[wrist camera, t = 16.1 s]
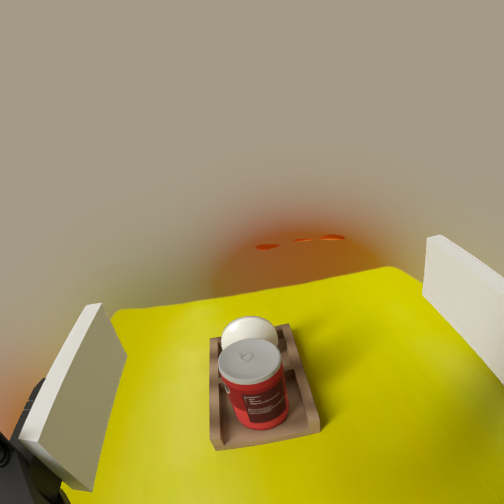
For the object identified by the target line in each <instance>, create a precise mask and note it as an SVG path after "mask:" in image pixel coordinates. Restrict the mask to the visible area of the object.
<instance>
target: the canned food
mask: <svg viewBox="0 0 504 504" xmlns="http://www.w3.org/2000/svg"><path fill="white" fill-rule="evenodd" d="M218 366H219V371H220V374H221V377H222V380H223V383H224V386H225V389H226V391H227V394H228V397H229V400H230V402H231V405H232V408H233V410H234V413H235V416H236V418H237V419H238V420H239V421H240V422H241V423H242V424H243V425H244V426H246V427H247V428H250V429H252V430H258V431H263V430H269V429H272V428H274V427H276V426H278V425H279V424H281V423H282V422H283V421H284V420H285V418H286V416H287V413H288V410H289V402H288V395H287V389H286V382H285V376H284V369H283V363H282V358H281V354H280V351H279V349H278V348H277V347H276V346H275V345H274V344H273V343H271V342H269V341H267V340H263V339H257V338H249V339H243V340H239V341H237V342H234V343H232V344H230V345H229V346H227V347H226V348H225V349H224V350H223V351H222V352H221V354H220V356H219V359H218Z"/></svg>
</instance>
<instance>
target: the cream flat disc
mask: <svg viewBox="0 0 504 504" xmlns="http://www.w3.org/2000/svg"><path fill="white" fill-rule="evenodd" d="M249 338H257V339H263V340H267V341H269V342H271V343H273V344H274V345H275V346H276V347H277V345H278V336H277V332H276V329H275V327H274V326H273V325H272V323H270V322H269V321H268V320H266V319H264V318H261V317H257V316H245V317H241V318H238V319H236V320H234V321H232V322H231V323H229V324H228V325H227V326H226V327H225V329H224V331H223V333H222V337H221V343H222V349H223V350H224V349H225V348H226V347H227V346H229V345H230V344H232V343H234V342H237V341H239V340H243V339H249Z"/></svg>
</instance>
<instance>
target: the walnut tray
mask: <svg viewBox="0 0 504 504" xmlns="http://www.w3.org/2000/svg"><path fill="white" fill-rule="evenodd" d="M274 327H275V329H276V332H277V336H278V345H277V348H278V349H279V351H280V354H281V358H282V363H283V369H284V376H285V382H286V389H287V395H288V402H289V410H288V413H287V416H286V418H285V420H284V421H283V422H282V423H281V424H279V425H278V426H276V427H274V428H272V429H269V430H263V431H258V430H252V429H250V428H247V427H246V426H244V425H243V424H242V423H241V422H240V421H239V420H238V419H237V418H236V416H235V413H234V410H233V408H232V405H231V402H230V400H229V397H228V394H227V391H226V389H225V386H224V383H223V380H222V377H221V374H220V371H219V366H218V359H219V356H220V354H221V352H222V351H223V349H222V343H221V337H216V338H210V375H209V412H210V441H211V443H212V444H213V446H214V448H215V450H216V451H218V450H226V449H234V448H241V447H248V446H255V445H261V444H266V443H272V442H277V441H282V440H287V439H292V438H297V437H301V436H306V435H310V434H314V433H318V432H320V418H319V415H318V412H317V409H316V406H315V403H314V400H313V396H312V393H311V390H310V387H309V384H308V381H307V378H306V375H305V372H304V369H303V365H302V362H301V359H300V356H299V353H298V350H297V347H296V344H295V341H294V338H293V335H292V332H291V329H290V326H289V323H288V324H284V325H279V326H274Z"/></svg>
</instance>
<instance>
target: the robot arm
mask: <svg viewBox="0 0 504 504" xmlns="http://www.w3.org/2000/svg"><path fill="white" fill-rule="evenodd" d="M426 247H427V249H426V261H425V272H424V283H423V292H422V295H423V296H424V297H425V298H426V299H427V300H428V301H429V302H430V303H431V304H432V305H433V306H434V307H435V308H436V310H437V311H438V312H439V313H440V314H441V315H442V316H443V317H444V318H445V319H446V320H447V321H448V322H449V323H450V324H451V325H452V326H453V328H454V329H455V330H456V331H457V332H458V333H459V334H460V335H461V336H462V337H463V338H464V340H465V341H466V342H467V343H468V344H469V345H470V346H471V347H472V348H473V350H474V351H475V352H476V353H477V354H478V355H479V356H480V358H481V359H482V360H483V361H484V362H485V363H486V365H487V366H488V367H489V368H490V369H491V370H492V372H493V373H494V374H495V375H496V376H497V378H498V379H499V380H500V381H501V382H502V384H503V385H504V278H503V277H502V276H500V275H499V274H498V273H496V272H495V271H494V270H492V269H491V268H490V267H488V266H487V265H485V264H484V263H483V262H481V261H480V260H478V259H477V258H475V257H474V256H473V255H471V254H469V253H468V252H466V251H465V250H464V249H462V248H461V247H459V246H458V245H456V244H455V243H453V242H452V241H450V240H449V239H447V238H446V237H444V236H442V235H437V236H433V237H428V238H427V246H426ZM126 358H127V355H126V353H125V351H124V349H123V347H122V345H121V343H120V341H119V339H118V336H117V334H116V332H115V330H114V328H113V326H112V324H111V322H110V319H109V317H108V315H107V313H106V311H105V308H104V306H103V304H102V303H97V304H92V305H86V306H85V308H84V310H83V312H82V314H81V315H80V317H79V318H78V320H77V322H76V324H75V325H74V327H73V329H72V331H71V332H70V334H69V336H68V338H67V339H66V341H65V343H64V345H63V347H62V349H61V350H60V353H59V354H58V356H57V358H56V360H55V361H54V364H53V365H52V367H51V369H50V371H49V373H48V375H47V377H46V378H43V379H42V380H41V381H40V382H39V383H38V384H37V385H36V387H35V388H34V389H33V391H32V393H31V395H30V397H29V402H27V403H26V406H25V407H24V409H25V410H24V411H23V412H22V414H21V416H20V419H19V421H18V423H17V425H16V427H15V429H14V432H13V434H12V436H11V438H10V441H8V440H7V439H6V437H5V436H4V435H3V434H2V433H1V432H0V504H71V503H70V501H69V499H68V497H67V495H66V494H65V492H64V491H63V490H62V489H61V488H60V486H61V482H62V481H63V482H64V483H66V484H67V485H68V486H69V487H70V488H72V489H74V490H81V491H88V492H92V491H93V486H94V481H95V476H96V471H97V467H98V462H99V458H100V454H101V449H102V445H103V441H104V437H105V433H106V429H107V425H108V421H109V417H110V414H111V410H112V406H113V402H114V399H115V395H116V392H117V388H118V385H119V381H120V378H121V375H122V371H123V368H124V365H125V361H126Z"/></svg>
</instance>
